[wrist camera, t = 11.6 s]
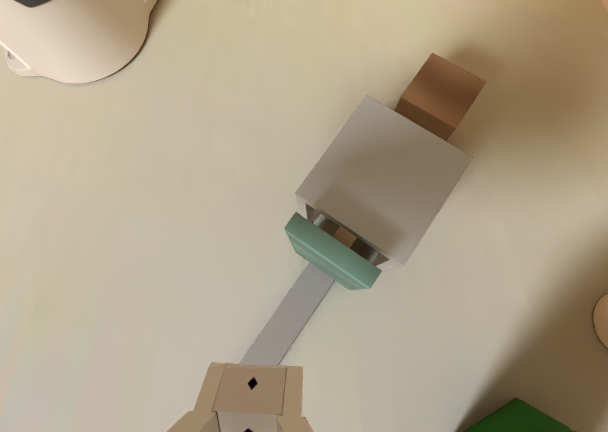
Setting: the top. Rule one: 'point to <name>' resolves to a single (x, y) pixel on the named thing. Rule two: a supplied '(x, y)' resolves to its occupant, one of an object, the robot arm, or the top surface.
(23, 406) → the top surface
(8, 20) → the robot arm
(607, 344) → the beer glass
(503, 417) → the milk carton
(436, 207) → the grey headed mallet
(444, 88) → the walnut block
